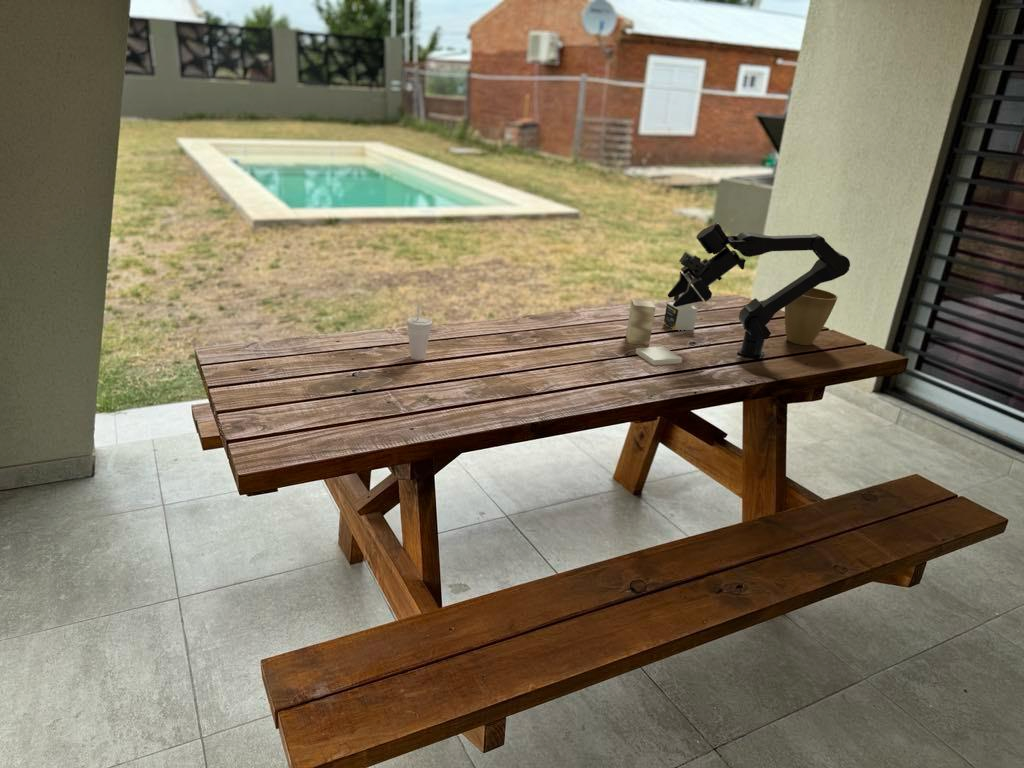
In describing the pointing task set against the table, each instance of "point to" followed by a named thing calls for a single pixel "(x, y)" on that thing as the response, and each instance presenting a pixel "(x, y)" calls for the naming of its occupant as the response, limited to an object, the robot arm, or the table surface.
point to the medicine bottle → (680, 316)
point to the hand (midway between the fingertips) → (671, 301)
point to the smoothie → (418, 335)
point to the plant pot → (808, 315)
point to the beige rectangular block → (640, 322)
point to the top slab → (658, 355)
